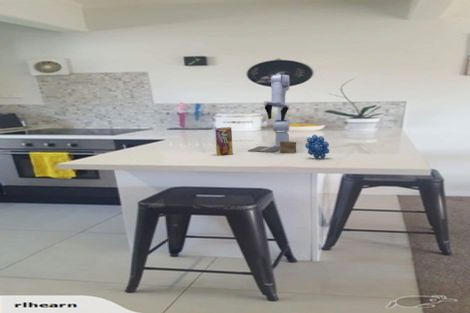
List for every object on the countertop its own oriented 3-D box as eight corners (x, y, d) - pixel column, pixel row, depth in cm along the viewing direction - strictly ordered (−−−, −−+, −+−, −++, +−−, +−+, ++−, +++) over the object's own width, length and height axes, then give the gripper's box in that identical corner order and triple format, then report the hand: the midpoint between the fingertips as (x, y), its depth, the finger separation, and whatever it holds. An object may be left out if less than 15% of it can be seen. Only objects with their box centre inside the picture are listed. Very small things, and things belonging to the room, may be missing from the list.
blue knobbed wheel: (304, 160, 163) (304, 135, 161) (305, 157, 170) (305, 134, 168) (328, 160, 160) (329, 135, 158) (329, 157, 166) (329, 134, 164)
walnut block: (282, 151, 189) (282, 141, 188) (296, 152, 185) (296, 141, 184) (280, 152, 186) (280, 142, 185) (293, 153, 182) (293, 142, 181)
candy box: (231, 153, 191) (230, 126, 188) (233, 154, 187) (231, 127, 184) (216, 154, 189) (214, 127, 186) (217, 155, 185) (215, 128, 182)
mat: (259, 147, 209) (259, 146, 209) (283, 148, 201) (283, 147, 201) (247, 151, 195) (247, 150, 195) (272, 152, 187) (272, 151, 187)
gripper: (267, 91, 176) (267, 115, 173) (292, 95, 180) (291, 119, 177) (262, 95, 182) (261, 119, 179) (286, 100, 187) (285, 123, 184)
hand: (276, 119), depth 179 cm, fingers open, 7 cm apart
